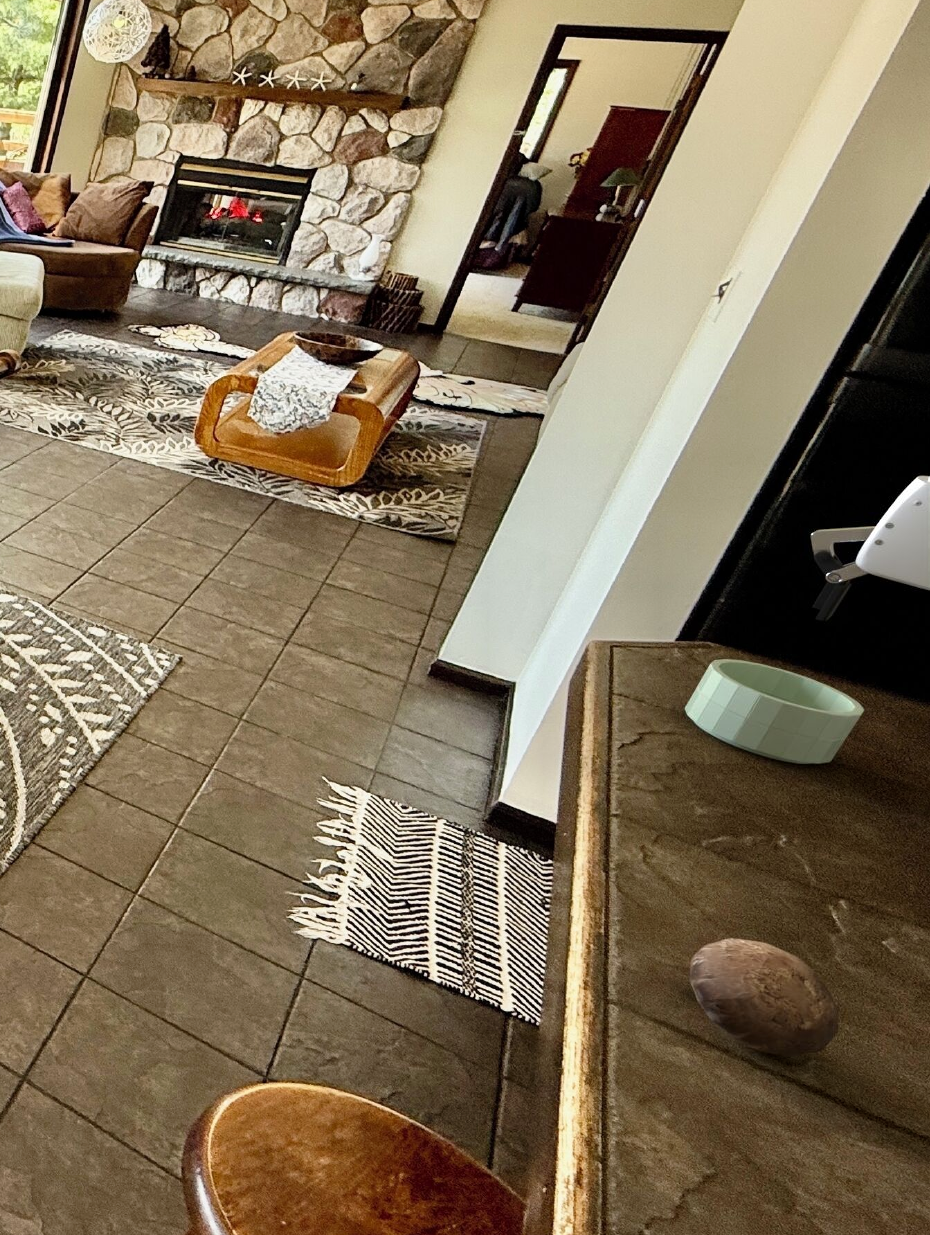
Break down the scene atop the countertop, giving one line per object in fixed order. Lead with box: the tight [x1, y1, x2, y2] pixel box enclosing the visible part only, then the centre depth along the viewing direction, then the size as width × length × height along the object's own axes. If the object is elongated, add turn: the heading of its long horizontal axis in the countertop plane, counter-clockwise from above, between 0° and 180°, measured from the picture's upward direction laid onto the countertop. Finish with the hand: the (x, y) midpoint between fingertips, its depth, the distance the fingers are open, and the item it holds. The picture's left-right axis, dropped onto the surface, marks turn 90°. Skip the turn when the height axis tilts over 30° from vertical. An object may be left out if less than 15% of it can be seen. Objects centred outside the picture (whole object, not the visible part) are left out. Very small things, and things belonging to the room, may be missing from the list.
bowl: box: [684, 658, 865, 765], centre depth 111 cm, size 11×11×6 cm
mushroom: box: [689, 937, 839, 1057], centre depth 73 cm, size 8×8×6 cm
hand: (891, 638), depth 103 cm, fingers open, 9 cm apart
